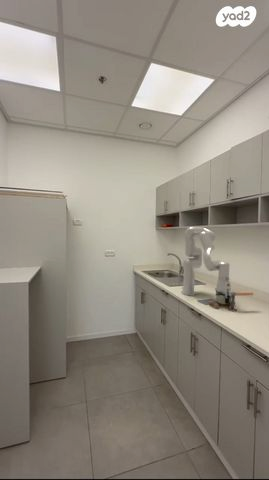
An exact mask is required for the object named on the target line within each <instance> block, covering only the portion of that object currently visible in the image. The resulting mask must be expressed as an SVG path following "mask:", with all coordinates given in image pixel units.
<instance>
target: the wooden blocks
mask: <svg viewBox="0 0 269 480" xmlns="http://www.w3.org/2000/svg"><path fill="white" fill-rule="evenodd" d="M235 299H236V296H232V298H231V304H230V307H228V306H225V307H224V308H225V309H227V310H228V311H230V312H237V311H238V310H237V309H236V308H235V307H236V301H235ZM207 306H208V307H211V308H213V309H219V304H217V303H214V302H212V301H208V305H207Z"/></svg>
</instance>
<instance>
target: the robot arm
mask: <svg viewBox="0 0 269 480" xmlns="http://www.w3.org/2000/svg"><path fill="white" fill-rule="evenodd" d="M195 237H196V238H197V237H199V240H200V243H201V246H202V248H203V251H202V248H201V247H200V246H198V245H196V239H195ZM184 240H185V243H184V244H185V245H184V247H185V248H184V250H185V251H184V252H185V256H186V257H188V258H186V259H184V260H183V263H182V265H183V266H182V267H183V286H182V287H181V292H180V293H181V294H182V295H186V296H195V295H196V294H197V293H196V291H195V279H196V278H195V276H196V274H195V271H194V269H200V268H201V266H202V264H204V266H205V268H206V270H208V271H209V272H210V271H211V272H215V271H218V279H217V281H216V282H217V283H216V287H215V288H214V289H215V293H216V292H219V293H222V294H225V296H226V298H225V303H229V298H230V297H231V293H232V291H231V289H232V288H231V282H230V280H231V279H230V263H229V262H226V261H221V260H212V258H211V252H212V251H214V250H215V245H214V243H213V242H214V241H215V240H216V233H215V232H213V231H212V230H210V229H207V228H205V227H203V226H189V227H188V228H186V229H185V232H184ZM202 262H203V263H202ZM227 295H228V296H227Z"/></svg>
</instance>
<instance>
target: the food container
mask: <svg viewBox="0 0 269 480" xmlns="http://www.w3.org/2000/svg"><path fill="white" fill-rule="evenodd" d="M227 296H228V295H227ZM215 297H216V299H215V300H216V301H217V304H219V307H220V308H221V307H222V308H225V306H228V307H231V305H230V304H231V301H232V296H231V297H230V298H229V303H225V298H226V296H225V294H222V293H219V292H216V291H215ZM219 307H218V308H219Z"/></svg>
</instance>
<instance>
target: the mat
mask: <svg viewBox="0 0 269 480" xmlns="http://www.w3.org/2000/svg"><path fill="white" fill-rule="evenodd" d="M196 301H197V302H198V303H200V304H202V305H205V306H209V305H208V301H212V302H214V303H217V301H216V299H214V298H206V299H197V300H196Z"/></svg>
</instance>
